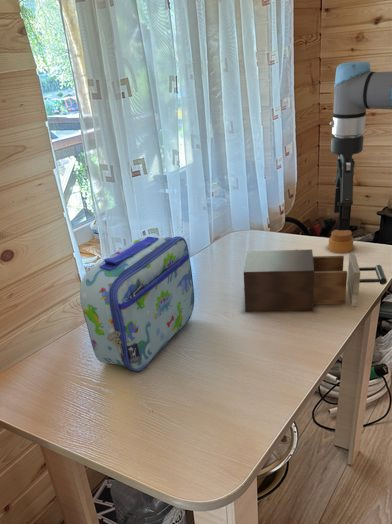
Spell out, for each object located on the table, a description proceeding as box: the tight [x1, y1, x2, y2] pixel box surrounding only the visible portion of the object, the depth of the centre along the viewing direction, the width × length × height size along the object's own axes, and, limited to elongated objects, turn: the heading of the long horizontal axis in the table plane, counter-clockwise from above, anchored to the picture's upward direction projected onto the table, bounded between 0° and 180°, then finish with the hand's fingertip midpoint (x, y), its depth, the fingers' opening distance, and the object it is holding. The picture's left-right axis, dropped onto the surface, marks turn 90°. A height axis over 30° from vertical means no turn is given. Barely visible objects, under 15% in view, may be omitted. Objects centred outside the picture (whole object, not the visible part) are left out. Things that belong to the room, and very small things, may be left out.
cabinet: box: [243, 249, 314, 313], centre depth 115 cm, size 15×12×10 cm
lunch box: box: [79, 234, 195, 372], centre depth 100 cm, size 26×11×21 cm, turn 150°
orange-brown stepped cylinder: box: [328, 228, 354, 254], centre depth 138 cm, size 6×6×4 cm
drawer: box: [313, 252, 388, 307], centre depth 112 cm, size 19×10×8 cm, turn 81°
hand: (341, 220), depth 135 cm, fingers open, 13 cm apart
